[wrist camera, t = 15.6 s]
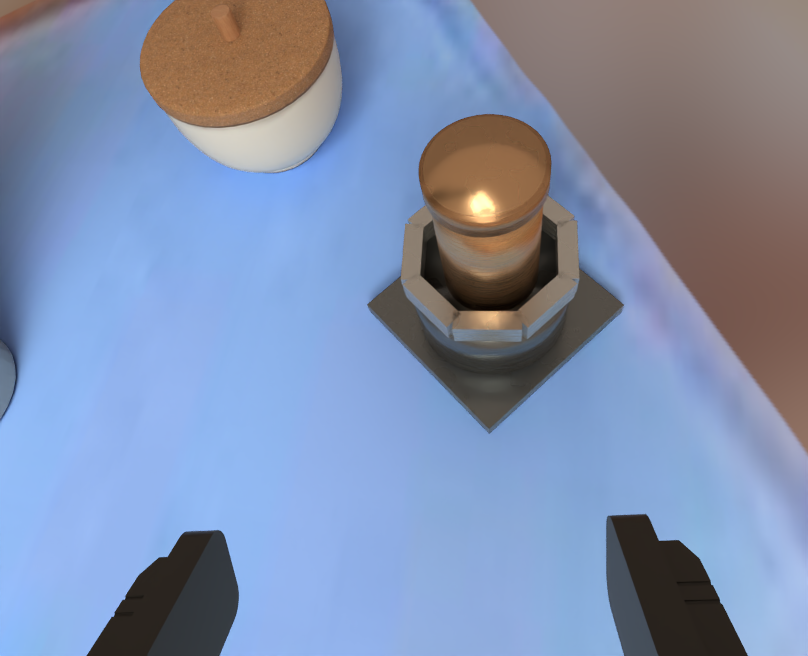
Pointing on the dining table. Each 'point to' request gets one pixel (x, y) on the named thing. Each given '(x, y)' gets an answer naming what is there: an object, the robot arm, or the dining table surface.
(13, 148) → the dining table surface
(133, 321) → the dining table surface
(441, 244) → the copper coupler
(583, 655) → the dining table surface
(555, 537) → the dining table surface
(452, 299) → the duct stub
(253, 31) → the lidded bowl
